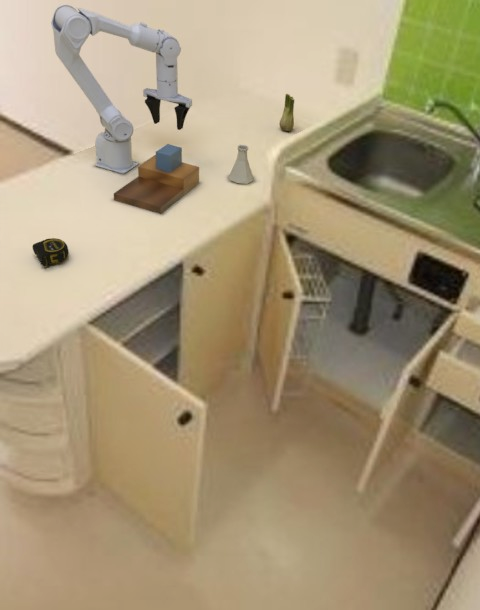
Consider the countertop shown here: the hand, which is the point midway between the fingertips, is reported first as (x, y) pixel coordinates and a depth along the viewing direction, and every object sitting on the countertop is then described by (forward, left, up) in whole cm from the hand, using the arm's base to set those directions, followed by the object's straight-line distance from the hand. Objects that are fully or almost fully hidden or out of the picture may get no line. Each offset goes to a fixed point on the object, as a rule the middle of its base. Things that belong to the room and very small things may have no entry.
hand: (168, 125), depth 187 cm
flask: (+24, 0, -11) cm, 26 cm away
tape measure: (+5, -61, -11) cm, 62 cm away
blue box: (+8, -14, -5) cm, 17 cm away
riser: (+8, -19, -10) cm, 23 cm away
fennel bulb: (-10, +32, -7) cm, 34 cm away
